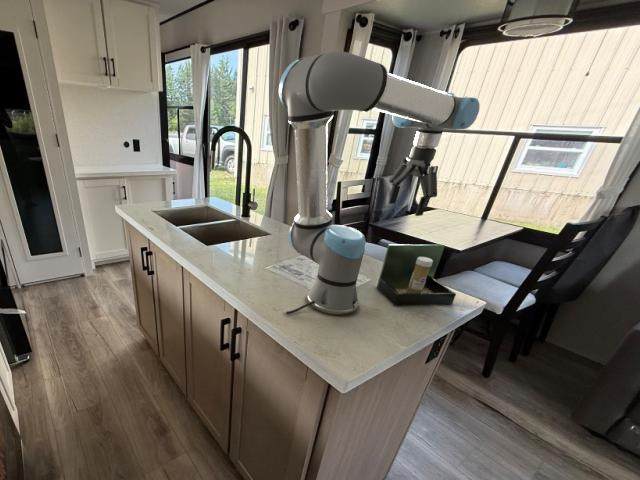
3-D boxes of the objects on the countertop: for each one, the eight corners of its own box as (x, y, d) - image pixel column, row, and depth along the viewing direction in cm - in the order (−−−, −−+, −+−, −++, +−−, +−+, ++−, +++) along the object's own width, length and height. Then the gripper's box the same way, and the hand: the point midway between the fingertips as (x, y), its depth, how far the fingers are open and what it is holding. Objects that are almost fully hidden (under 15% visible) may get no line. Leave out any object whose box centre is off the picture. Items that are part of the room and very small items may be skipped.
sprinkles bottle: (413, 300, 107) (426, 262, 101) (402, 294, 111) (414, 257, 104) (423, 297, 109) (436, 260, 103) (411, 291, 113) (424, 255, 106)
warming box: (395, 305, 103) (410, 258, 96) (376, 287, 114) (388, 244, 107) (451, 304, 106) (470, 258, 98) (428, 287, 117) (443, 244, 109)
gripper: (465, 153, 100) (439, 219, 112) (406, 140, 119) (389, 198, 131) (447, 154, 98) (422, 222, 110) (389, 140, 117) (374, 199, 129)
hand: (404, 209), depth 121 cm, fingers open, 13 cm apart
